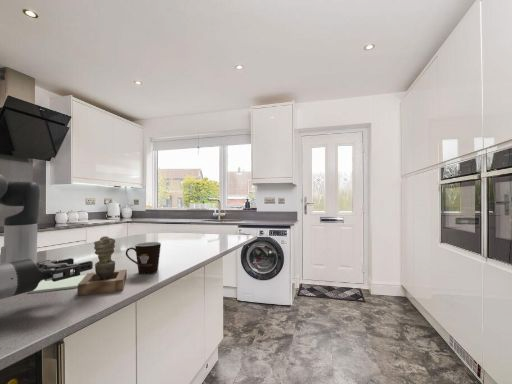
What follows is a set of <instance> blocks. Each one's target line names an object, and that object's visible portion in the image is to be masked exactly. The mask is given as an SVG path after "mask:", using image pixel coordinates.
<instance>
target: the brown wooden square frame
mask: <svg viewBox="0 0 512 384" xmlns="http://www.w3.org/2000/svg"><path fill="white" fill-rule="evenodd" d="M127 272H128V271H127V269H120V270H119V269H118V270H114V272H113V274H112V275H111V279H108V280H100V277H99V276H98V275H97V274H96V272H90V273H89V272H88V273H86V274H85V275H86V276H85V277H84V278H83V279H82V280H81V282H80V283H79V284H78V288H77V297H80V296H87V295H89V296H90V295H95V294H105V293H113V292H120V291H124V287H125V285H126V282H127V280H128V279H127V277H128V276H127V274H128V273H127Z"/></svg>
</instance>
